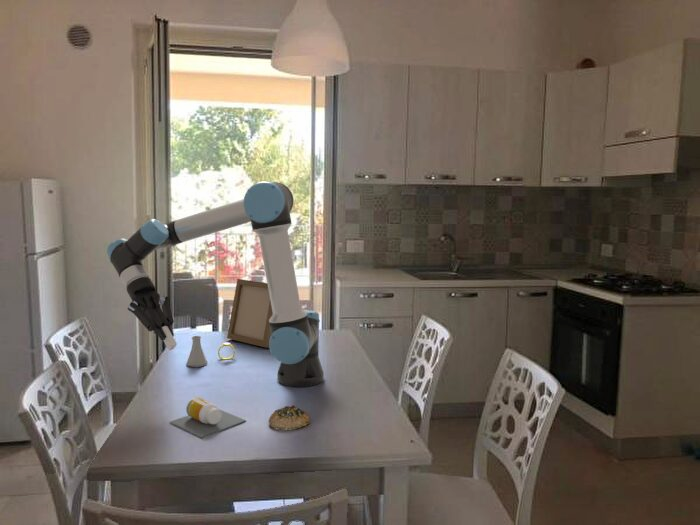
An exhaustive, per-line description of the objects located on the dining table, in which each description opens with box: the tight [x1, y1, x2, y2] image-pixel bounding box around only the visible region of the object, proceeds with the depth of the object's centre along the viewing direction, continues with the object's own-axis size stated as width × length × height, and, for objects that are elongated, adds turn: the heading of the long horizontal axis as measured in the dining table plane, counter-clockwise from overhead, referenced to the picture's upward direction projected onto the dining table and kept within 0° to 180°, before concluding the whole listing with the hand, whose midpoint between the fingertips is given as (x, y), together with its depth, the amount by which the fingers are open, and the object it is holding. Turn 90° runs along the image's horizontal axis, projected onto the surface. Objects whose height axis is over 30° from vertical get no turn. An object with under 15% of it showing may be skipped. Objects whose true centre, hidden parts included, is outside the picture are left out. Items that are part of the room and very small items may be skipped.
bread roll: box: [268, 404, 311, 431], centre depth 151 cm, size 11×11×5 cm
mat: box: [169, 408, 247, 439], centre depth 150 cm, size 14×14×1 cm
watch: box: [217, 342, 236, 361], centre depth 206 cm, size 6×3×6 cm, turn 103°
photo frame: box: [226, 278, 273, 349], centre depth 230 cm, size 15×22×25 cm
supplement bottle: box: [185, 396, 221, 424], centre depth 149 cm, size 5×5×10 cm
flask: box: [185, 335, 208, 368], centre depth 199 cm, size 7×7×10 cm
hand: (172, 347), depth 161 cm, fingers closed
